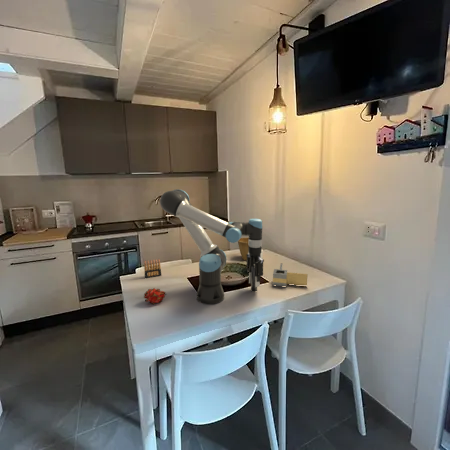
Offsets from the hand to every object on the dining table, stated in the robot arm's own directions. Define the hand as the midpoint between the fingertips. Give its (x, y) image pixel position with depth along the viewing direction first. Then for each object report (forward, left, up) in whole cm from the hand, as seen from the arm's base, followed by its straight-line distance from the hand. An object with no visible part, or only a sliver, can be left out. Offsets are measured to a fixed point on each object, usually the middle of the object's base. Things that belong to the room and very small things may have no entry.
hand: (254, 284), depth 156 cm
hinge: (+19, -20, -4) cm, 28 cm away
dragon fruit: (-27, +49, -4) cm, 56 cm away
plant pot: (+55, +14, -4) cm, 57 cm away
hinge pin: (0, 0, -4) cm, 4 cm away
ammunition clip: (+4, +68, -4) cm, 68 cm away
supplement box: (+31, +4, -4) cm, 31 cm away
